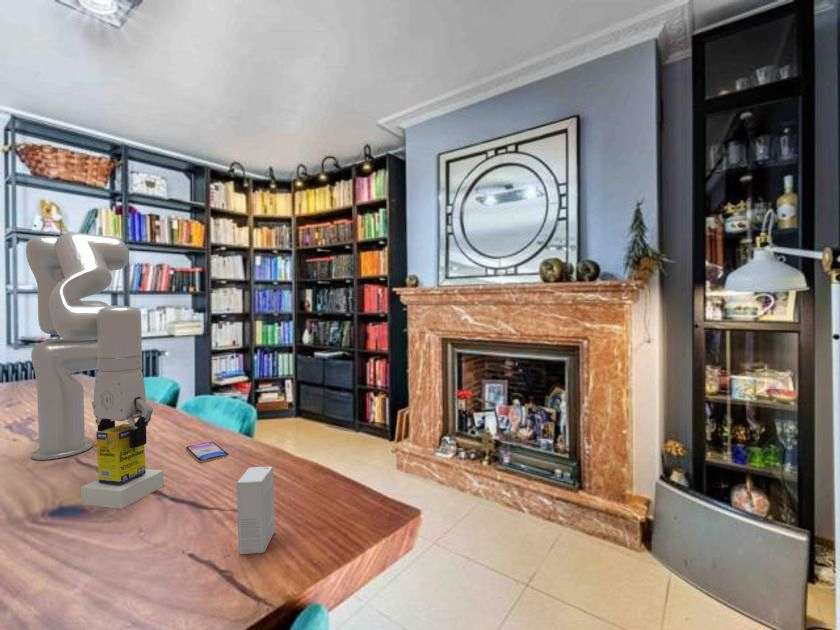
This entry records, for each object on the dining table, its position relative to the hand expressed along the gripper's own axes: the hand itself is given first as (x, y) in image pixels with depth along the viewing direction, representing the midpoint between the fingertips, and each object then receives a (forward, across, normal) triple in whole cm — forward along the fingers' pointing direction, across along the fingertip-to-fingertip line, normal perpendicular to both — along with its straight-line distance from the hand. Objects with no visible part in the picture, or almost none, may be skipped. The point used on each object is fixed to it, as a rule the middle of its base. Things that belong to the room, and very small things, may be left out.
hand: (122, 443), depth 84 cm
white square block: (+12, +1, 0) cm, 12 cm away
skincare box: (+10, +41, -5) cm, 42 cm away
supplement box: (+7, +1, 0) cm, 8 cm away
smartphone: (+12, -3, +24) cm, 27 cm away
